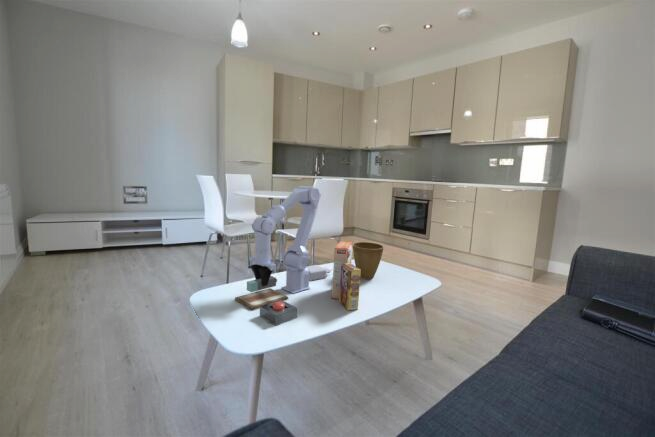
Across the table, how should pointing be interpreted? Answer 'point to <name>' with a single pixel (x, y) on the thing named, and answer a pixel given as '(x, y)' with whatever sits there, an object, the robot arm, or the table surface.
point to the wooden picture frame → (260, 298)
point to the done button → (278, 306)
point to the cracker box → (340, 257)
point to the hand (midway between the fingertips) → (261, 284)
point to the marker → (260, 284)
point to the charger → (317, 272)
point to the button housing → (278, 313)
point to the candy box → (349, 286)
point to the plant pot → (367, 258)
